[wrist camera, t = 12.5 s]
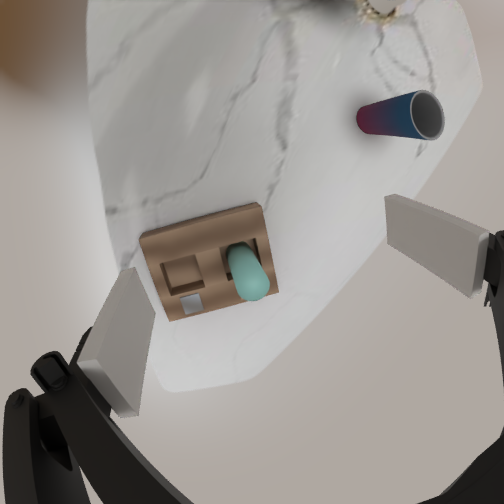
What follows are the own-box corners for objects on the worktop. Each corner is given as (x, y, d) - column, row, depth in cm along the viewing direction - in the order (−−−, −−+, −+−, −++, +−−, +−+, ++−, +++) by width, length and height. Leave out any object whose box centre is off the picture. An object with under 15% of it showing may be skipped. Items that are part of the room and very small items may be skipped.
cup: (382, 142, 44) (443, 145, 30) (350, 134, 43) (408, 133, 29) (385, 106, 42) (445, 99, 28) (353, 96, 41) (410, 82, 27)
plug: (223, 244, 44) (232, 276, 33) (248, 237, 45) (266, 266, 34) (229, 267, 46) (240, 305, 35) (253, 261, 46) (272, 296, 35)
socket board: (142, 233, 42) (138, 240, 38) (256, 202, 44) (262, 206, 40) (170, 310, 47) (169, 322, 44) (273, 282, 49) (279, 293, 45)
